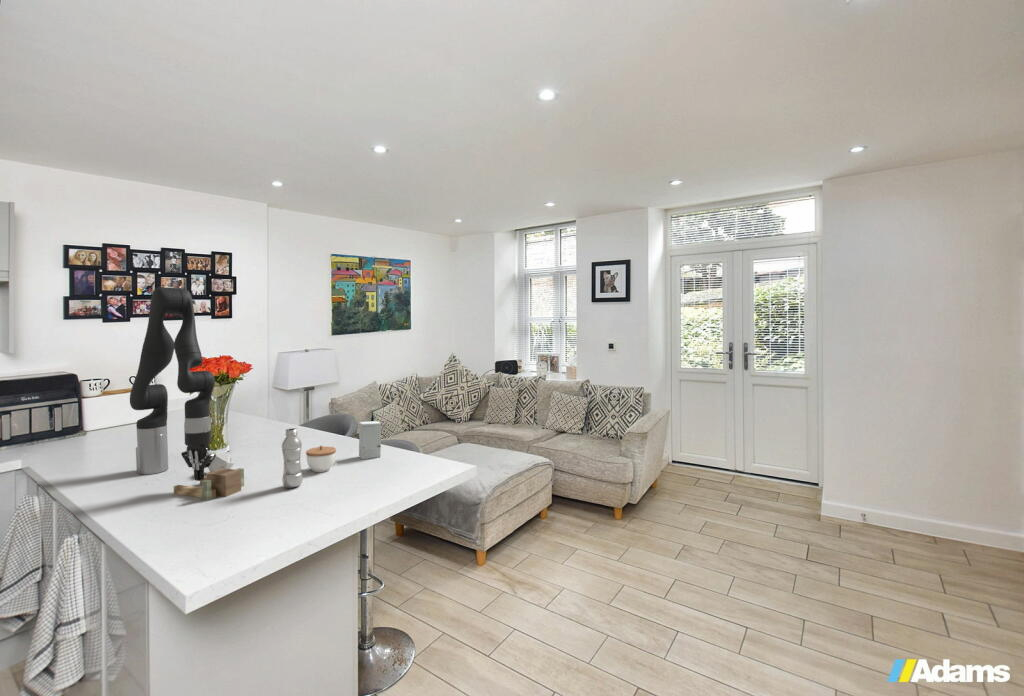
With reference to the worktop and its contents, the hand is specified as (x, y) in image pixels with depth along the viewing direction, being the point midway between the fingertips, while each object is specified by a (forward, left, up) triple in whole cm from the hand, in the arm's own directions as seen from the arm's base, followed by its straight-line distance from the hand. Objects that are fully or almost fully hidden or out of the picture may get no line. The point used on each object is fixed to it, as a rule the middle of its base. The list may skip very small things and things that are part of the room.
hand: (199, 479), depth 161 cm
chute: (+4, 0, -3) cm, 5 cm away
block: (+11, 0, -3) cm, 11 cm away
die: (-8, +16, -3) cm, 18 cm away
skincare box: (+34, +51, -3) cm, 61 cm away
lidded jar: (+26, +30, -3) cm, 40 cm away
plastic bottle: (+29, +11, -3) cm, 31 cm away
